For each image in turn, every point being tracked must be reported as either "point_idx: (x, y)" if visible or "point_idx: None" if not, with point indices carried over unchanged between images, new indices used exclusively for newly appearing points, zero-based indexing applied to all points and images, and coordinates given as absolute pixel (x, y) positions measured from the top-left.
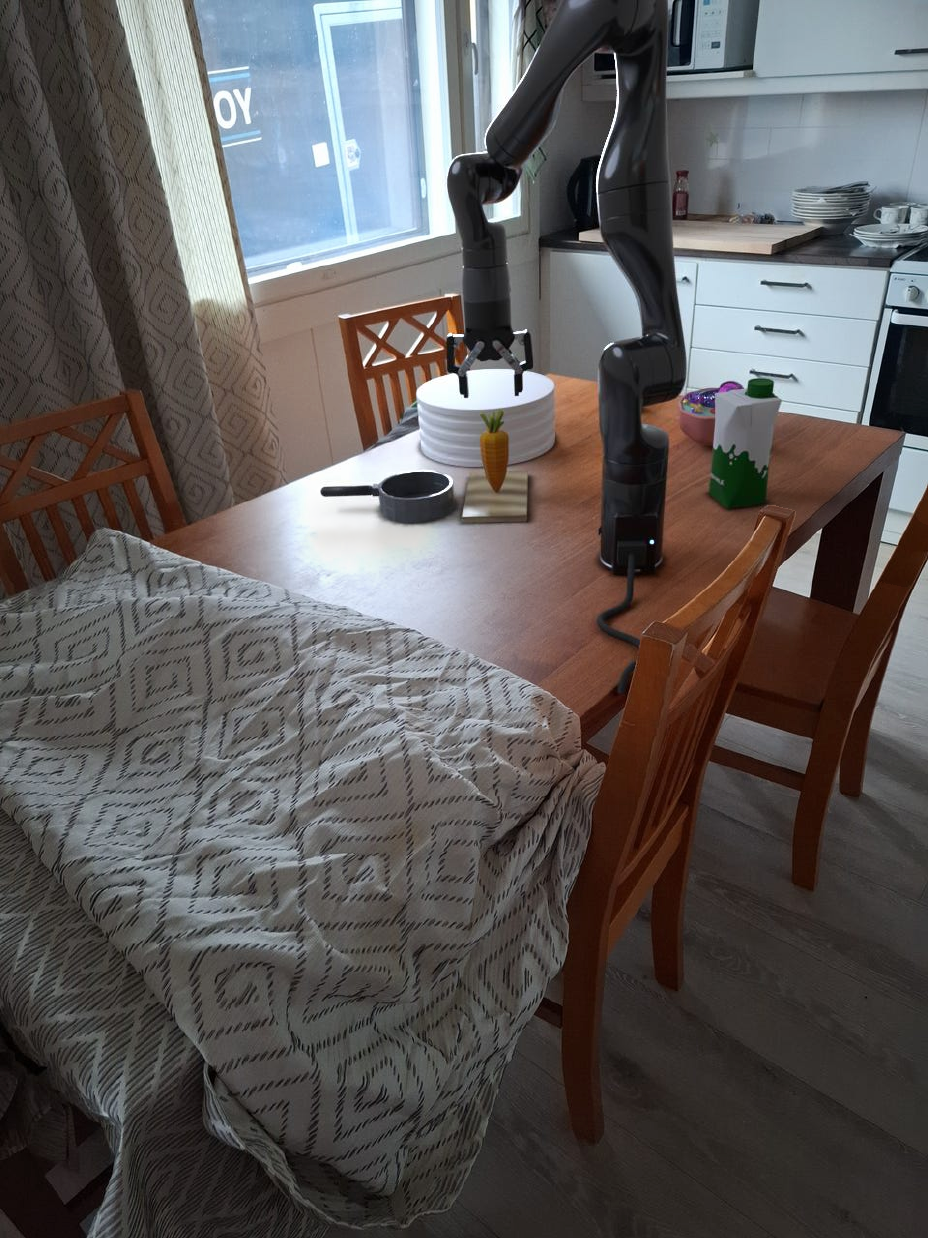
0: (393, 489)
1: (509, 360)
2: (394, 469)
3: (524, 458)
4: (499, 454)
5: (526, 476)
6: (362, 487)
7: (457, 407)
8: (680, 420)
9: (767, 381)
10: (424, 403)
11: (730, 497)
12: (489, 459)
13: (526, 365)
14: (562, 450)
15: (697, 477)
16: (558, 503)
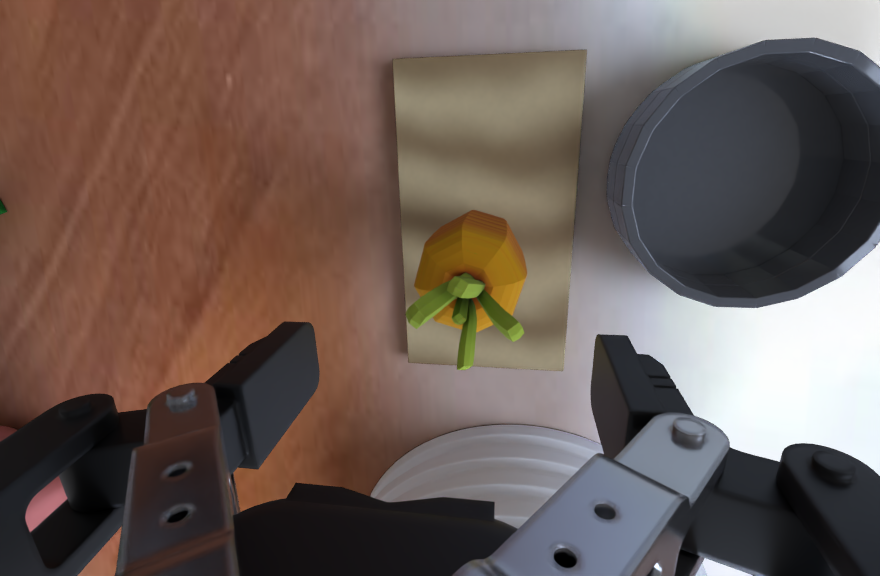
0: (816, 247)
1: (184, 441)
2: (780, 448)
3: (422, 446)
4: (454, 221)
5: (408, 326)
6: None
7: None
8: (43, 492)
9: None
10: None
11: None
12: (493, 218)
13: (97, 415)
14: (341, 486)
15: (46, 304)
16: (324, 182)
